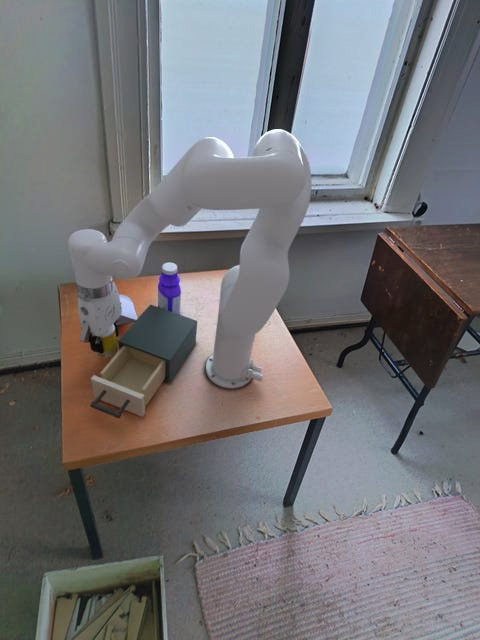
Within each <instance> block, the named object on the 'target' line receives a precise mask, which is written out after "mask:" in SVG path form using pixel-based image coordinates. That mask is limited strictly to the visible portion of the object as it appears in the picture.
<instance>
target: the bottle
mask: <svg viewBox="0 0 480 640" xmlns="http://www.w3.org/2000/svg"><path fill="white" fill-rule="evenodd" d="M158 281H159V282H158V284H157V307H159V308H162V309H165V310H168V311H171V312H173V313H176V314H179V315H181V299H182V298H181V297H182V295H181V294H182V287H181V286H180V285H181V284H180V283H181V279H180V276H179V274H178V265H177V264H175V263H173V262H165V263H163V264H162V265H161V274H160V276H159V278H158Z"/></svg>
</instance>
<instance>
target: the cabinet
mask: <svg viewBox="0 0 480 640" xmlns="http://www.w3.org/2000/svg"><path fill="white" fill-rule="evenodd" d="M197 329H198V320H195V319H193V318H190V317H187V316H185V315H182V314H180V315H179V314H176V313H173V312H171V311H168V310H165V309H162V308H159V307H158V306H156V305H153V304H149V305H148V306H147V308H145V310H144V311H143V312H142V313H141V314H140V315H139V316H138V319H137V320H136V321H135V322H132V324H131V325H130V327H128V329H127V330H126V331H125V332H124V333H123V334H122V336H121V337H120V338H119V339H117V345H118V351H119V350H120V349H121V348H122V347H123V345H125V346H127V347H130V348H133V349H135V350H138V351H141V352H143V353H146V354H149V355H151V356H154V357H157V358H159V359H162V360H165V361H167V376H166V377H165V379H164V380H163V382H165V383H168V384H170V383H171V382H172V381H173V379H174V378H175V375H176V374H177V372H178V371H179V370H180V368H181V367H182V365H183V363H184V362H185V360H186V359H187V357H189V355H190V353H191V352H192V350H193V348H194V347H195V345H196V343H197V332H198V331H197Z"/></svg>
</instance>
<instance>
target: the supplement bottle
mask: <svg viewBox="0 0 480 640" xmlns="http://www.w3.org/2000/svg"><path fill="white" fill-rule="evenodd" d="M92 336H93V337H95V335H94V334H93V333H92ZM100 340H101V341H102V343H103V349H104V352H103V354H101V353H98V352H95V354H96V356H98V357H100V358H103V359H107V358H111V357H114V356H115V355H116V354H117V352H118V351H119V345H118V339H117V337H116V332H115V326H114V324H113V325H112V326H111V327H110V328H109V329H108V330H107V331H106V332H105V333H104V334H103V335H101V336H100Z"/></svg>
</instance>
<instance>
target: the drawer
mask: <svg viewBox="0 0 480 640" xmlns="http://www.w3.org/2000/svg"><path fill="white" fill-rule="evenodd" d="M99 374H100V376H97V375H95V374H93V375H92V377H91V378H90V382H91V383H90V384H91V388H92V393H93V397H94V398H95V400H94V401H91V403H90V405H89V407H90V408H92V409H94V410H97V411H99V412H101V413H104V414H106V415H109V416H111V417H114V418H117V419H120V418H121V416H122V413H123V412H124V411H127V412H129V413H132V414H134V415H137V416H139V417H141V418H143V417H144V416H145V414H146V407H147V405H148V404H149V402H150V401H151V399H152V398H153V397H154V395H155V394H156V392H157V391H158V389H159V388H160V386H161V385H162V384H163V382H164V381H163V380H164V379H165V377H166V376H167V361H165V360H162V359H159V358H157V357H154V356H151V355H149V354H146V353H143V352H141V351H138V350H135V349H133V348H130V347H127V346H125V345H123V347H122V348H121V349H120V350H119V349H118V350H117V352H116V354H115V355H113V356H112V358H111V359H110V361H109V362H108V363H107V364H106V365H105V366H104V368H103V369H102V370H101V371H100V372H99ZM100 401H103V402H105V403H107V404H110V405H112V406H115V407H117V408H120V409H119V410H118V411H116V410H114V409H113V408H110V407H108V406H105V405H102V404H100V403H99V402H100Z"/></svg>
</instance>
